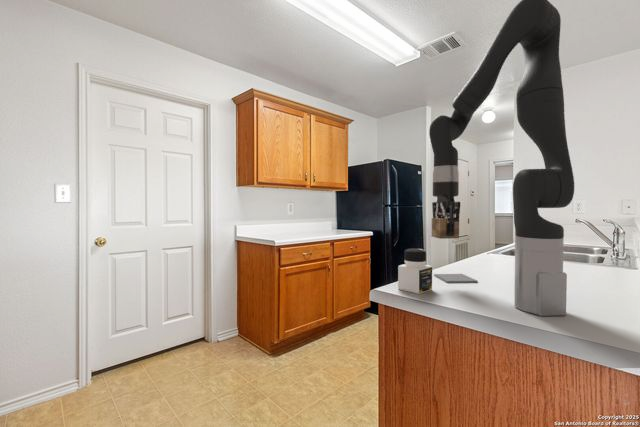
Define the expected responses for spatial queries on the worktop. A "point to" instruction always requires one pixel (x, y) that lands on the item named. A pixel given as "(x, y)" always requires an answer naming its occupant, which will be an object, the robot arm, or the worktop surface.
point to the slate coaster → (455, 278)
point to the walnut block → (443, 228)
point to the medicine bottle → (415, 272)
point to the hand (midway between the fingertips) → (445, 234)
